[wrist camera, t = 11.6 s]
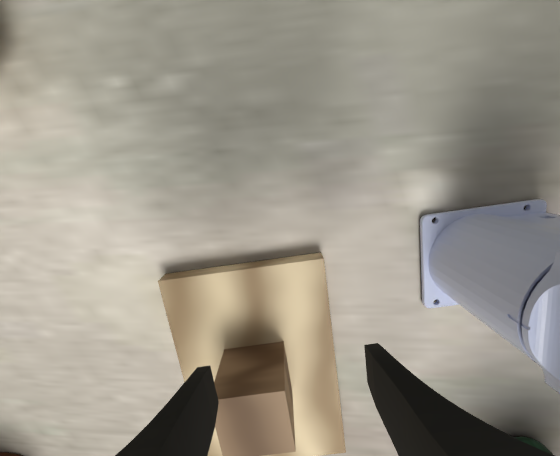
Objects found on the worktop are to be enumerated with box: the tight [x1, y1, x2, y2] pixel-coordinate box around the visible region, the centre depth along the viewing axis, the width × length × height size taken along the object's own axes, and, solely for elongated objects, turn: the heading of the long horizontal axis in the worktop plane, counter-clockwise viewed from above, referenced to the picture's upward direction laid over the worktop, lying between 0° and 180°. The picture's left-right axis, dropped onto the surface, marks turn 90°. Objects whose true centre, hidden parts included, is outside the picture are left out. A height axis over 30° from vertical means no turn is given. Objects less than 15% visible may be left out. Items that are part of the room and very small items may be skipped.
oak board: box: [158, 252, 346, 456], centre depth 23 cm, size 13×19×2 cm
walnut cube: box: [214, 341, 296, 456], centre depth 20 cm, size 5×5×5 cm
